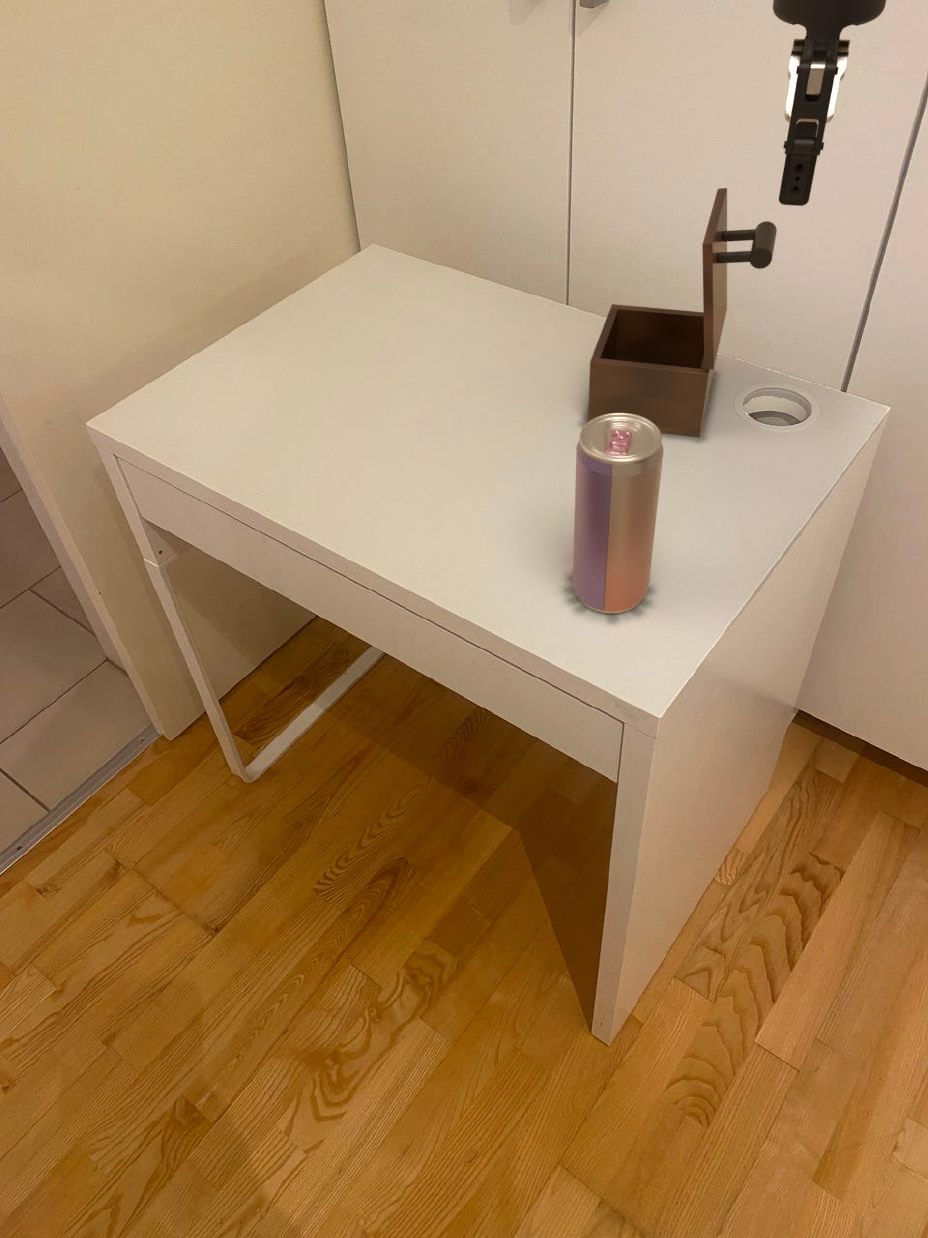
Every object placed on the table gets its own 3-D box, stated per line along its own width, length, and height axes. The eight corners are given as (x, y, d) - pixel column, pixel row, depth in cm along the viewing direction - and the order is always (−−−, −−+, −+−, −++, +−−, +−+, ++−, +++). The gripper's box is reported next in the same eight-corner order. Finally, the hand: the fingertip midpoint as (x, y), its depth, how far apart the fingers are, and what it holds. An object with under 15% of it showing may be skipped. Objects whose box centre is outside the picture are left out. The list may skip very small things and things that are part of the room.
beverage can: (565, 610, 75) (568, 456, 64) (580, 559, 79) (586, 406, 68) (640, 623, 74) (657, 468, 63) (653, 570, 77) (671, 415, 67)
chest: (587, 423, 92) (589, 361, 87) (608, 364, 99) (611, 303, 94) (699, 437, 89) (708, 374, 84) (713, 375, 96) (722, 313, 91)
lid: (702, 243, 76) (770, 240, 74) (717, 188, 83) (780, 183, 81) (704, 369, 84) (766, 368, 82) (718, 309, 91) (775, 307, 89)
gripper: (901, -39, 58) (843, 223, 70) (900, -92, 68) (849, 147, 79) (774, -39, 60) (738, 216, 72) (790, -90, 69) (756, 143, 81)
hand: (796, 180), depth 76 cm, fingers open, 8 cm apart
